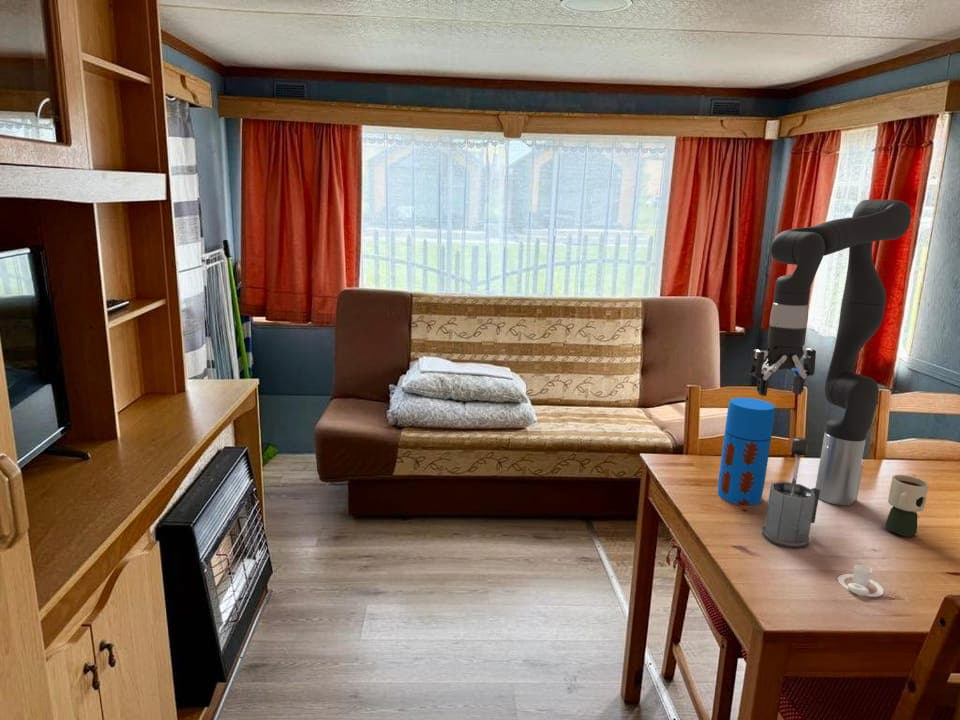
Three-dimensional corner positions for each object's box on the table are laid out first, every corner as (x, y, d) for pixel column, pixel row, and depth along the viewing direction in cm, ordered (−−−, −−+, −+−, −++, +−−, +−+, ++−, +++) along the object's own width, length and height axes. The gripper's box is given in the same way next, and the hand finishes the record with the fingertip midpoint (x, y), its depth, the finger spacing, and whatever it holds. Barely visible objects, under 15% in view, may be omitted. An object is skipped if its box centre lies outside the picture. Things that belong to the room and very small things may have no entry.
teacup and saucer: (862, 603, 125) (865, 583, 124) (825, 581, 132) (829, 562, 131) (892, 594, 129) (896, 575, 128) (855, 573, 136) (859, 555, 135)
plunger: (790, 493, 151) (800, 433, 147) (814, 506, 145) (825, 443, 141) (767, 496, 148) (776, 435, 145) (791, 509, 142) (801, 446, 139)
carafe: (793, 524, 156) (801, 477, 153) (827, 543, 147) (836, 494, 144) (752, 531, 151) (759, 484, 148) (785, 551, 142) (793, 501, 140)
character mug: (912, 546, 147) (923, 492, 144) (876, 534, 152) (886, 482, 149) (922, 530, 155) (933, 479, 152) (888, 520, 160) (898, 469, 157)
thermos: (765, 508, 163) (780, 412, 158) (720, 502, 165) (733, 407, 160) (756, 490, 174) (770, 399, 168) (714, 485, 176) (726, 395, 170)
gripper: (806, 320, 150) (797, 388, 154) (748, 321, 147) (741, 390, 151) (828, 326, 142) (818, 398, 146) (768, 327, 140) (759, 400, 144)
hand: (779, 394), depth 149 cm, fingers open, 8 cm apart
